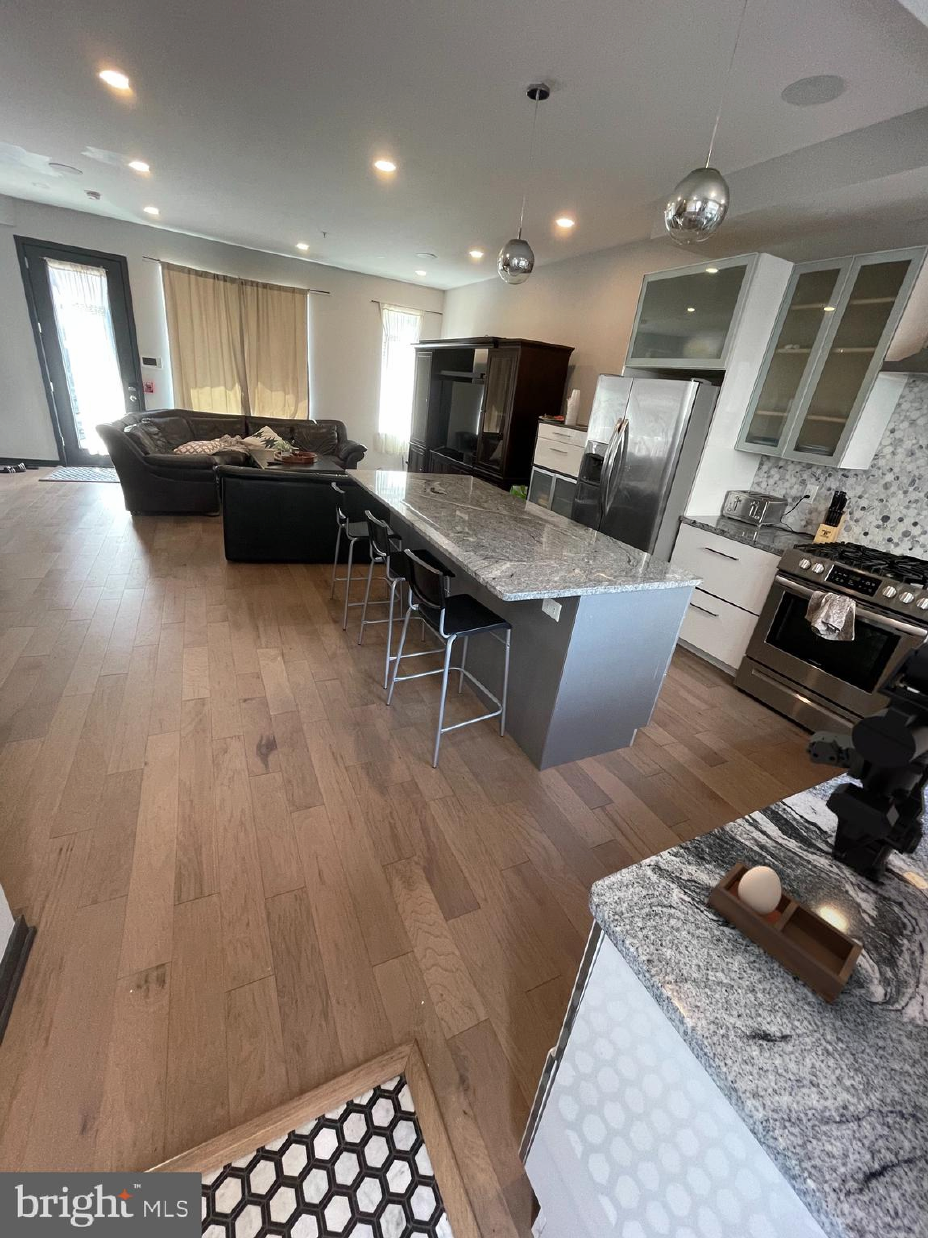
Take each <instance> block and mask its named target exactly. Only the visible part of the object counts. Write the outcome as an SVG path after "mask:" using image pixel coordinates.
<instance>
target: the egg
mask: <svg viewBox="0 0 928 1238" xmlns="http://www.w3.org/2000/svg"><path fill="white" fill-rule="evenodd" d="M752 868H753V869H751V870H749V871H748V872H747V873H746V874H745V875H744V876H743V878H742V879H741V881H740V884H739V887H738V895H739V899H740V901H741V902H742V903H744V904H745V905H746V906H748V907H749V908H750V909H752V910H753V911H754V912H755V913H757V914H758V915H766V914H768V913H770V912H772V911H773V910H774V909H775V908H776V906H777V905H778V903H779V900H780V897H781V889H782V884H781V879H780V877H779V875H778V874H777V873H776V871H775V870H774V869H772V868H771V867H769V866H765V865H764V866H763V865H760V866H759V865H758V866H755V867H752Z"/></svg>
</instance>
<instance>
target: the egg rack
mask: <svg viewBox="0 0 928 1238" xmlns="http://www.w3.org/2000/svg"><path fill="white" fill-rule="evenodd" d="M753 868H754V867H751V866H750V865H748V864H747V863H746V862H745V861H743V860H741V859H739V860H738V861H737V863H735V864H734V866H733V867H732V868H731V869H730V870H729V871H728V872H727V873H726V874H725V875H724V876H723V877H722V878H721V879H720V880H719V881H718V882H717V883H716V884H715V885H714V888H713V889H712V892H711V894H710V896H709V897H708V900H707V902H706V905H707V906H709V908H711V909H712V910H714V911H715V912H716V913H717V914H718V915H720V916H721V917H722V918H723V919H725V920H726V921H727V922H728V923H729V924H731V925H732V926H733V927H734V928H736V929H737V930H738V931H740V932H741V933H742V934H743V935H744V936H746V937H747V938H748V939H749V940H751V941H752V942H753V943H754V944H755V945H757V946H758V947H759V948H760V949H761V950H763V951H765V953H767V954H768V955H769V956H771V957H772V958H773V959H774V960H775V961H777V962H778V963H780V965H782V967H784V968H785V969H786V970H788V971H789V972H790V973H792V975H794V976H795V977H796V978H797V979H799V980H800V981H801V982H802V983H804V984H805V985H806V986H807V987H809V988H810V989H811V990H813V992H815V993H816V994H817V995H818V996H820V997H821V998H822V999H823V1000H824V1001H826V1002H827V1003H829V1004H830V1005H833V1003H834V1002H835V1001H836V1000H837V998H838V997H839V995H840V994H841V992H842V991H843V989H844V988H845V986H846V985H847V982H848V980H849V978H850V976H851V974H852V972H853V970H854V968H855V966H856V964H857V962H858V960H859V957H860V956H861V954H862V951H863V949H864V947H863V946H862V945H861V944H860V943H858V942H857V941H855V940H854V939H853V938H851V937H850V936H848V935H847V934H846V933H844V932H843V931H841V930H840V929H839V928H837V927H836V926H834V925H833V924H831V923H830V922H829V921H828V920H825V919H824V918H823V917H822V916H821V915H819V914H818V913H816V912H814V911H813V910H812V909H811V908H810V907H807V906H806V905H805V904H804V903H802V902H800V901H799V900H798V899H796V898H795V897H793V896H792V895H790V894H789V893H788V892H787V891H785V890H784V889H782V888H781V897H780V900H779V903H778V905H777V906H776V908H775V909H774V910H773V911H772V912H770V913H768V914H766V915H758V914H757V913H755V912H754V911H753V910H752V909H750V908H749V907H748V906H746V905H745V904H744V903H742V902H741V901H740V899H739V895H738V887H739V884H740V881H741V879H742V878H743V876H744V875H745V874H746V873H747V872H748V871H749V870H751V869H753Z"/></svg>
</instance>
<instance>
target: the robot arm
mask: <svg viewBox="0 0 928 1238" xmlns="http://www.w3.org/2000/svg"><path fill="white" fill-rule="evenodd" d="M897 683H900V685H899V684H897ZM904 686H905V687H904ZM906 687H908V688H910V689H908V688H906ZM911 689H912V690H911ZM913 690H914V691H913ZM915 691H916V692H915ZM876 693H877V694H879V695H882V696H884V697H886V698H888V699H889V701H888V703H887V704H886V706H885V707H884V708H882V709H881V710H880V709H879V710H878V711H877V712H874V713H872V714H870V715H868V716H866V717H864V718H862V719H860V720H859V721H858V722H857V723H856V724H855V725H854V726H853V727H852V731H851V735H849V734H843V733H837V732H832V731H827V730H826V731H825V730H818V731H816V732H815V733H814V734H813V735H811V736H810V737H809V742H808V747H807V748H806V749H805V752H806V754H807V755H808V760H809V762H811V763H813V764H817V765H821V764H822V765H826V766H829V767H830V766H831V767H836V768H839V769H845V770H847V769H848V770H847V772H846V776H848V777H850V778H852V779H854V780H856V781H859V783H860V784H861V786H859V785H857V784H855V783H853V782H844V783H842V782H841V783H839V784H838V785H837V786H836V787H835V788H834V790H832V792H831V793H830V794H829V797H828V798H827V801H826V802H825V807H826V808H827V809H828V811H830V812H831V813H832V814H834V815H835V817H836V818H837V824H836V831H835V836H834V842H833V848H832V850H831V852H830V854H832V856H833V857H836V858H837V859H839V860H840V861H842V862H844V863H845V864H847V865H848V866H850V867H851V868H853V869H855V870H856V871H858V872H859V873H861V874H862V875H864V876H865V877H868V878H869V879H871V880H872V881H874V882H876V883H879V882H880V881H881V878H882V876H883V875H884V872H885V871H886V869H887V867H888V865H889V862H888V860H889V859H890V857H891V855H892V853H893V852H894V851H896V852H897V853H898V854H899V855H901V856H903V855H904V854H909V855H913V854H914V853H915V852H916V850H918V847H919V846H920V844H921V842H922V840H923V838H924V832H923V828H924V825H925V823H924V822H922V821H921V820H922V818H923V817H924V815H925V814H926V813H927V808H926V799H925V790H926V788H927V787H928V641H924V642H922V643H920V644H919V645H918V646H917V647H914V646H912V647H910V648H909V649H907V651H905V653H904V654H903V655H902V656H901V658H900V659H899V661H898V662H897V663H896V665H895V666H894V667H893V668H892V670H891V671H890V672H889V674H888V675H887V676H886V678H885V679H884V680H883V682H882V683H881V684H880V685H879V687H878V688H877V689H876Z"/></svg>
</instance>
